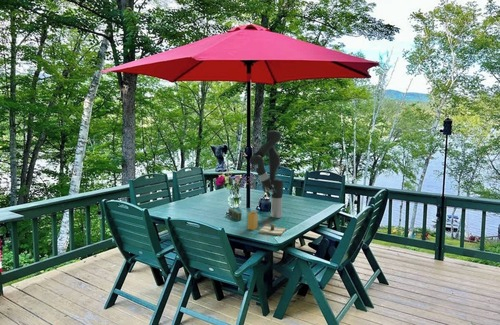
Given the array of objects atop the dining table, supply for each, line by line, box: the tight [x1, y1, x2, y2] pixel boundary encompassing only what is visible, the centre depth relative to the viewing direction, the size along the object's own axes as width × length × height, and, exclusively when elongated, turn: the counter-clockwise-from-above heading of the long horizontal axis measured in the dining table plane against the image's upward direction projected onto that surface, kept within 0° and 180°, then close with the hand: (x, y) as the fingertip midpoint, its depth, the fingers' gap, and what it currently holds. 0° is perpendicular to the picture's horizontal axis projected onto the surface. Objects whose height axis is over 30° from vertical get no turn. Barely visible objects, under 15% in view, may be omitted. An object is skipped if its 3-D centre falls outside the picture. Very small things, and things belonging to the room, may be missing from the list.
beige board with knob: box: [258, 223, 287, 237], centre depth 248 cm, size 14×17×6 cm
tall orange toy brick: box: [247, 210, 259, 231], centre depth 255 cm, size 6×6×13 cm
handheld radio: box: [225, 207, 242, 222], centre depth 288 cm, size 7×3×25 cm
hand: (272, 196), depth 266 cm, fingers open, 8 cm apart
